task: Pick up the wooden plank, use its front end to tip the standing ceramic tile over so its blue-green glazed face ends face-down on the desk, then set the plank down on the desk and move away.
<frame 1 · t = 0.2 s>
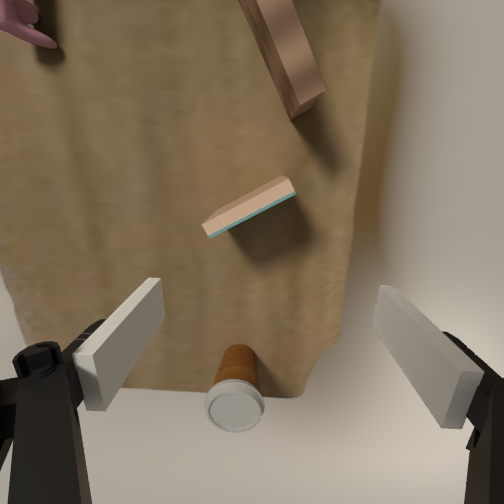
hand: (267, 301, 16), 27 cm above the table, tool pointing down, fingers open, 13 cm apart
tile: (251, 199, 41), on the table
video game controller: (39, 5, 34), on the table
disposable coffee cup: (240, 356, 51), on the table
wooden plank: (271, 48, 34), on the table
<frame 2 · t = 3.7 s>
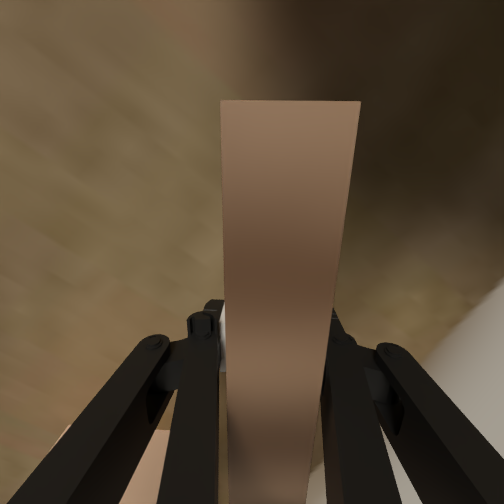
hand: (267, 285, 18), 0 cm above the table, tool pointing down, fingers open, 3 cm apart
tile: (134, 435, 24), on the table
wooden plank: (267, 279, 18), on the table
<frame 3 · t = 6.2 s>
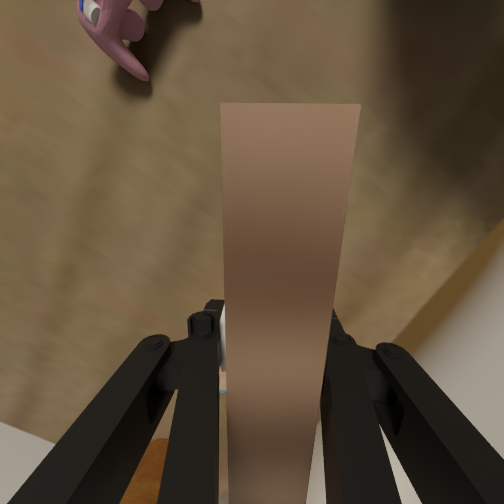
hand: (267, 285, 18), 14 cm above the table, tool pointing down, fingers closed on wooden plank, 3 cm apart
video game controller: (152, 22, 25), on the table
disposable coffee cup: (165, 450, 45), on the table
wooden plank: (267, 280, 18), point 14 cm above the table, touching gripper
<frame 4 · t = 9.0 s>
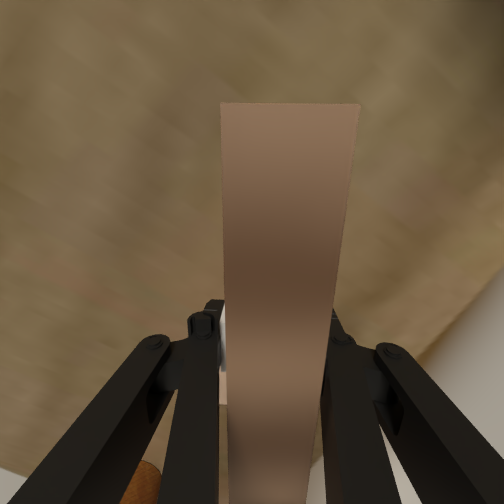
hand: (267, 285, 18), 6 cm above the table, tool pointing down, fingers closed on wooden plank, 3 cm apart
disposable coffee cup: (139, 473, 35), on the table
wooden plank: (267, 280, 18), point 6 cm above the table, touching gripper
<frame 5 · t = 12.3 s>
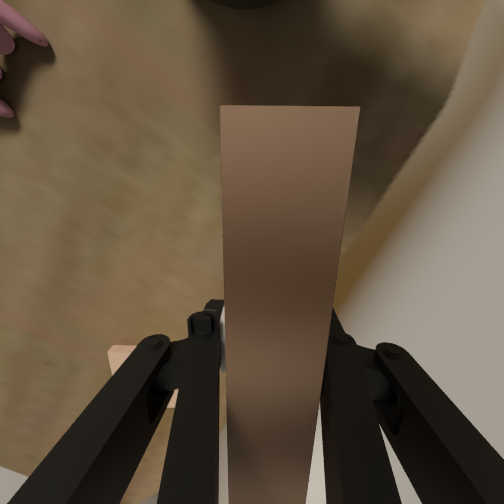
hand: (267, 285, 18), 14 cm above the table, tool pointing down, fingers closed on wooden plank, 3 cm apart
tile: (152, 348, 37), on the table, tilted 90°
video game controller: (11, 64, 27), on the table
wooden plank: (267, 281, 18), point 14 cm above the table, touching gripper
when the fingers open (1 cm above the table, at t = 15.0 s): wooden plank drops 1 cm, on the table.
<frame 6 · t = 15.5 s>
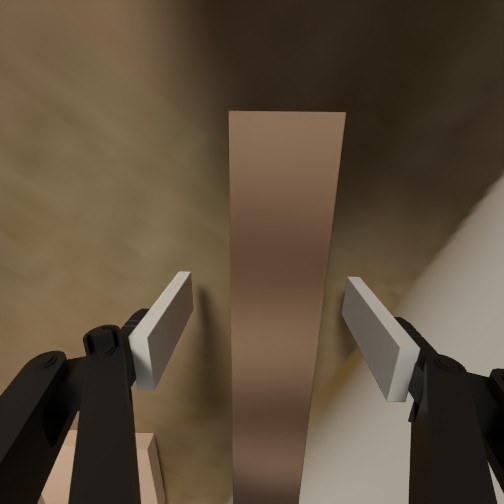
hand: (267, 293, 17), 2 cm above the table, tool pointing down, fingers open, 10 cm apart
tile: (90, 436, 25), on the table, tilted 90°
wooden plank: (266, 274, 19), on the table
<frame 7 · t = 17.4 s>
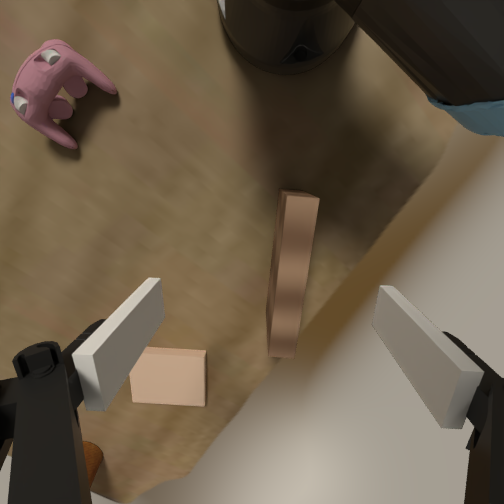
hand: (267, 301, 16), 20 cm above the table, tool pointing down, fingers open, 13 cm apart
tile: (167, 350, 41), on the table, tilted 90°
video game controller: (80, 104, 31), on the table
disposable coffee cup: (87, 451, 49), on the table
wooden plank: (282, 255, 36), on the table
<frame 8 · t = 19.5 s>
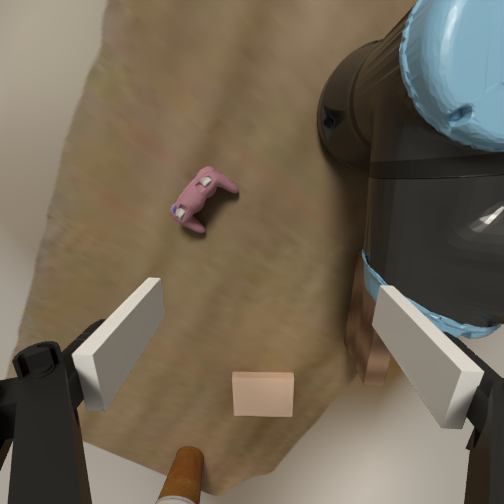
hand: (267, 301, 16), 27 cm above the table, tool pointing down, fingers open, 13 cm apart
tile: (262, 374, 51), on the table, tilted 90°
video game controller: (207, 199, 41), on the table
disposable coffee cup: (190, 454, 60), on the table
wooden plank: (359, 298, 45), on the table
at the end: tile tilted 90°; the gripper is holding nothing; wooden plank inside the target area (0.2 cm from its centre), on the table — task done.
